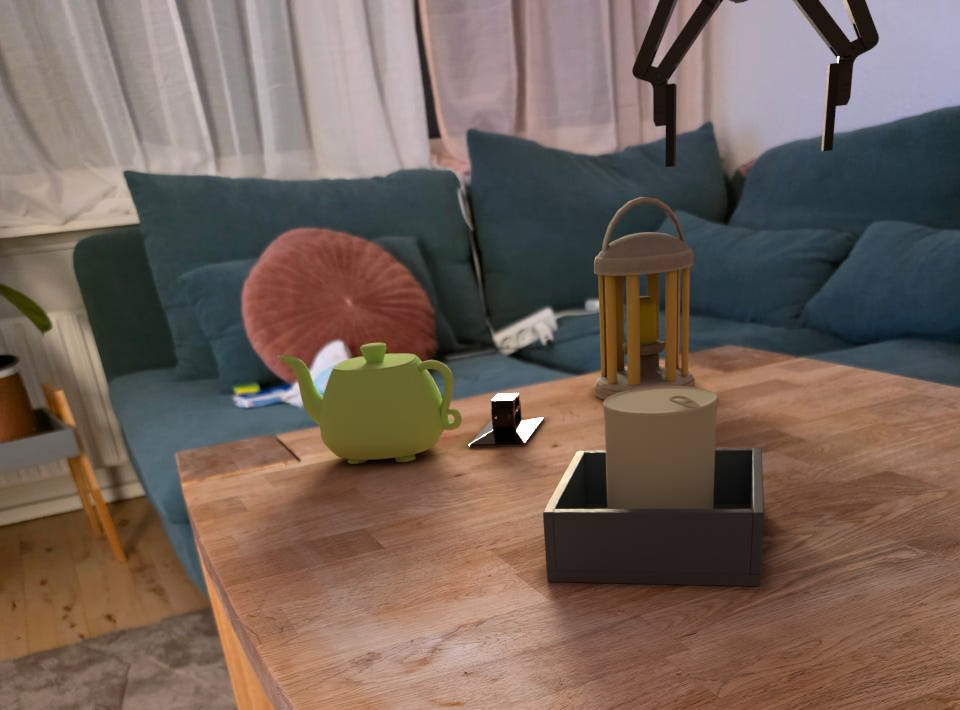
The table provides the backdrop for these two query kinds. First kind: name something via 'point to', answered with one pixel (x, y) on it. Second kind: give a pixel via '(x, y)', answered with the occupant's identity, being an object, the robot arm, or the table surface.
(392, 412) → the teapot
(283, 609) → the table surface
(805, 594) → the table surface
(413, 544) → the table surface
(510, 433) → the dark brown finned block
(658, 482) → the can
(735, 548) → the dark grey open box
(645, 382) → the lantern
